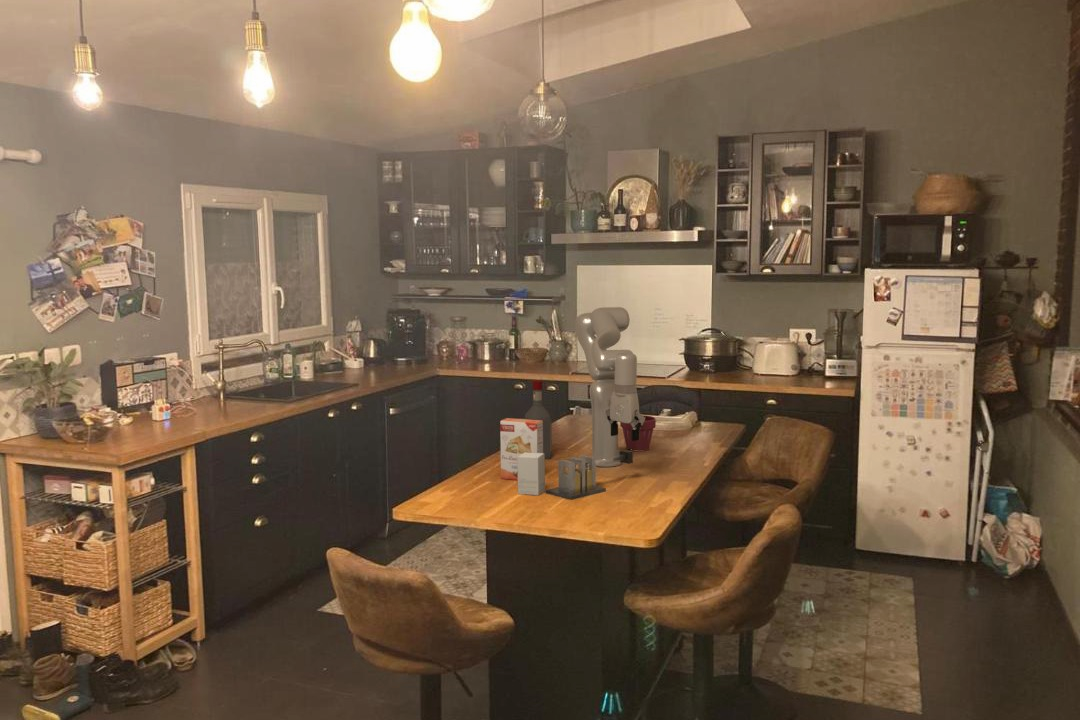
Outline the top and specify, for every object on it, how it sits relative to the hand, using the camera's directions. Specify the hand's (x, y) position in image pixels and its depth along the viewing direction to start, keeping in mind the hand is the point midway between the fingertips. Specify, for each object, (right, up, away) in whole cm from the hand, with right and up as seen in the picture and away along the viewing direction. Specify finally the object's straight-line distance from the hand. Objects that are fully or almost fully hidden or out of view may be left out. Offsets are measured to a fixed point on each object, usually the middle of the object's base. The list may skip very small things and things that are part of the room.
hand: (624, 437), depth 308 cm
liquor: (-30, -11, +36) cm, 49 cm away
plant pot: (+10, -9, +52) cm, 54 cm away
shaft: (-6, -9, -6) cm, 13 cm away
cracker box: (-36, -15, +3) cm, 39 cm away
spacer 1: (-19, -16, -17) cm, 30 cm away
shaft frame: (-18, -17, -16) cm, 29 cm away
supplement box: (-32, -17, -15) cm, 39 cm away
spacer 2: (-15, -15, -14) cm, 25 cm away
